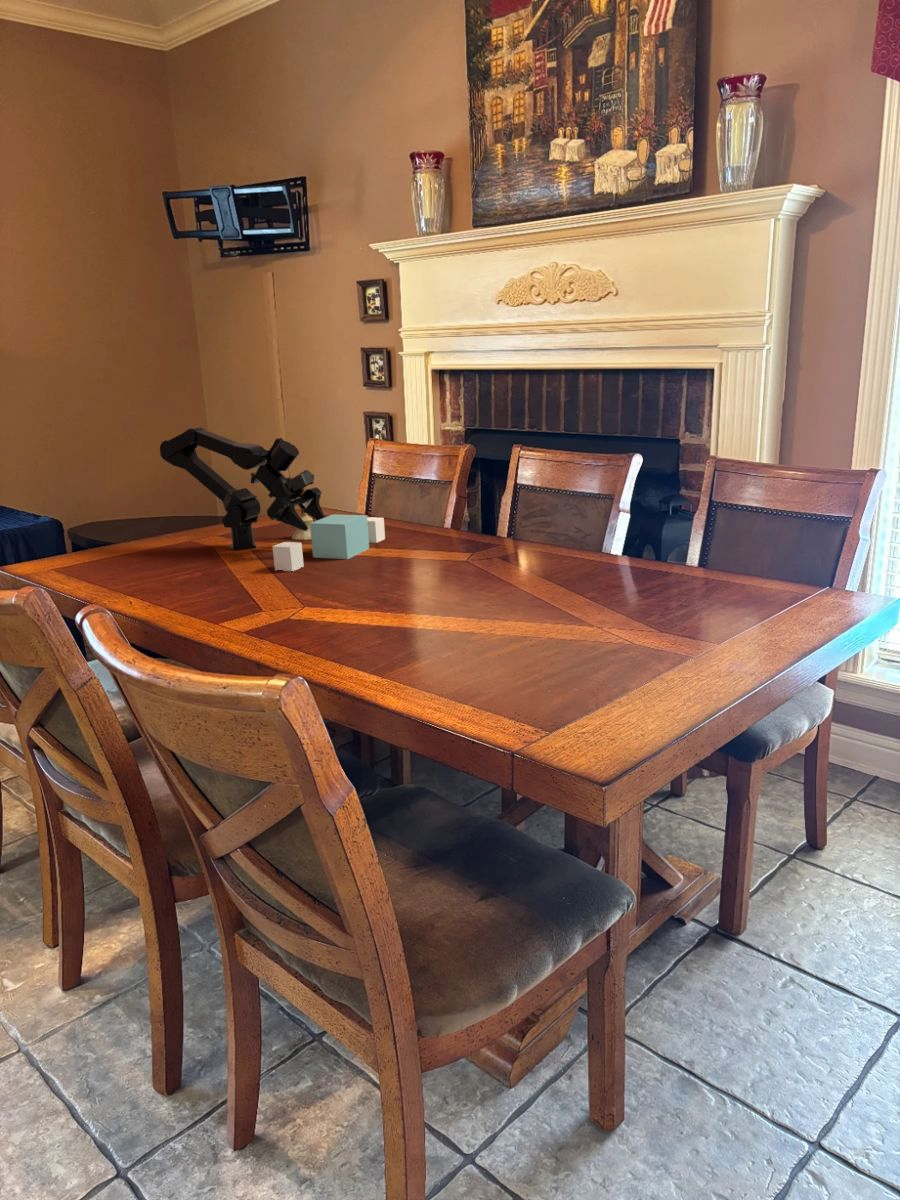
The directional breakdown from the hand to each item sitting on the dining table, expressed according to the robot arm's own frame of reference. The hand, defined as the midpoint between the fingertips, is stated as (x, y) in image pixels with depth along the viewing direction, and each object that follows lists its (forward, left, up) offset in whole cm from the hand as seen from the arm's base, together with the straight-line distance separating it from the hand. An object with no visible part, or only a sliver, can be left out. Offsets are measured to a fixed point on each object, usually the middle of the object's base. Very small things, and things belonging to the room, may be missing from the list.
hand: (316, 526), depth 221 cm
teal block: (+5, +5, -7) cm, 10 cm away
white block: (+15, -10, -7) cm, 19 cm away
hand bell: (-20, 0, -7) cm, 21 cm away
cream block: (-6, +16, -7) cm, 19 cm away
